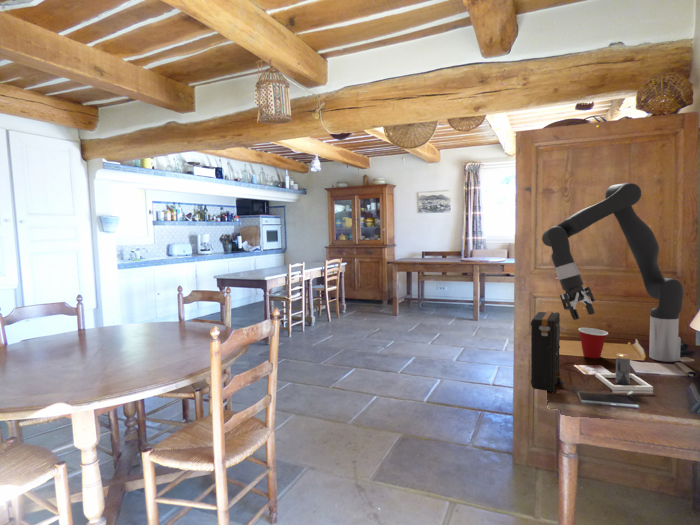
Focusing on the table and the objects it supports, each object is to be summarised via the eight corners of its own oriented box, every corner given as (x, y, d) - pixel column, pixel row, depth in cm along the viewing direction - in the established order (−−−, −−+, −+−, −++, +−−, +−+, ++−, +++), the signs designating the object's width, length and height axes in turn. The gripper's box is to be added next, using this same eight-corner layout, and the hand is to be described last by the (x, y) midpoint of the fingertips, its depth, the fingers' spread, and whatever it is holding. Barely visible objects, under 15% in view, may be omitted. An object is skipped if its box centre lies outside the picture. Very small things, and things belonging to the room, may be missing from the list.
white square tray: (632, 379, 149) (632, 373, 149) (652, 393, 137) (653, 386, 137) (595, 379, 151) (595, 373, 151) (612, 392, 138) (612, 386, 138)
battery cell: (625, 381, 146) (626, 353, 145) (631, 385, 142) (632, 357, 141) (613, 381, 146) (613, 353, 145) (619, 385, 142) (619, 356, 141)
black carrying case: (557, 394, 139) (557, 320, 137) (529, 389, 143) (529, 318, 141) (562, 379, 152) (562, 311, 150) (536, 375, 156) (536, 309, 154)
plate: (600, 367, 162) (600, 365, 162) (613, 377, 152) (613, 374, 152) (573, 367, 163) (573, 364, 163) (584, 376, 153) (584, 373, 153)
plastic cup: (612, 362, 167) (612, 333, 166) (582, 362, 169) (583, 333, 168) (601, 354, 178) (602, 327, 177) (574, 354, 180) (574, 326, 179)
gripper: (564, 277, 155) (579, 319, 153) (589, 270, 161) (605, 311, 158) (548, 282, 162) (563, 322, 159) (573, 275, 168) (588, 314, 165)
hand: (584, 316), depth 159 cm, fingers open, 8 cm apart
